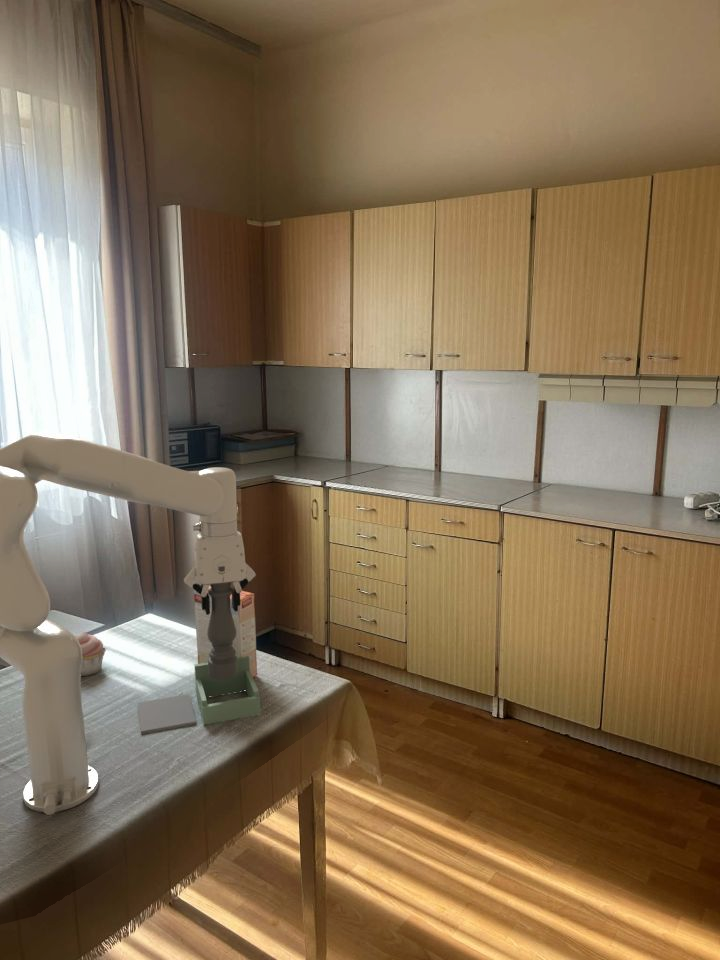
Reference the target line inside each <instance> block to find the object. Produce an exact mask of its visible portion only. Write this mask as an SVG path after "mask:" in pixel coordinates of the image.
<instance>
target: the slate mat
mask: <svg viewBox="0 0 720 960" xmlns="http://www.w3.org/2000/svg"><path fill="white" fill-rule="evenodd" d="M137 709H138V718H139V726H140V729H139V730H140V734H141V735H144V734H148V733H155V732H159V731H160V732H161V731H164V730H170V729H177V728H182V727H187V725H188V726H193V725H196V724H197V722H196V721H197V720H196V718H195V713H194V709H193V706H192V701H191V697H190V694H189V693H187V694H181V695H175V696H170V697H163V698H159V699H151V700H146V701H139V702H137ZM192 724H193V725H192Z"/></svg>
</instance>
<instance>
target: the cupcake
mask: <svg viewBox="0 0 720 960" xmlns="http://www.w3.org/2000/svg"><path fill="white" fill-rule="evenodd" d="M75 637H76V638H77V640H78V641H79V643H80V646H81V649H82V668H81V677H87V676H92V675H95V674H97V673H98V672H99V671H100V670H101V669H102V667H103V661H104V656H105V653H106V651H107V648H106V647H104V644H103V641H102V640H101V639H98V637H97V636H94V635H93V634H89V633H87V631H83V632H79V634H77V635H76V636H75Z"/></svg>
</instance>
